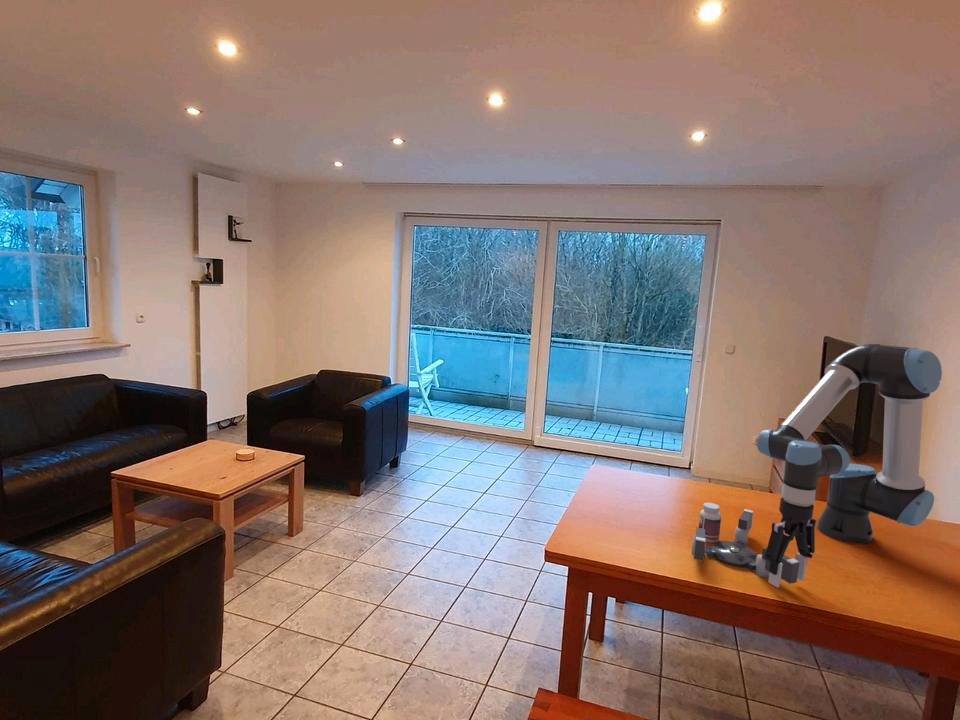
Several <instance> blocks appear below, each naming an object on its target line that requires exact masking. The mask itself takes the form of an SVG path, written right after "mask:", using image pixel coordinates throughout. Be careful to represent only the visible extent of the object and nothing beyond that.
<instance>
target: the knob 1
mask: <svg viewBox="0 0 960 720" xmlns="http://www.w3.org/2000/svg"><path fill="white" fill-rule="evenodd" d="M753 515H754V510H750V509H748V508H744V509H743V511H742V514H741V515H740V516H739V518H738V525H737V526H735V529H734V531H735V532H734V538H733V539H734V540H733V541H737V542H741V543H744V544H745V546H747V545H748V539H749V538H748V537H749V532H750V531H751V529H752V523H753ZM747 547H748V546H747Z"/></svg>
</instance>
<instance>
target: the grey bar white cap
mask: <svg viewBox="0 0 960 720" xmlns="http://www.w3.org/2000/svg"><path fill="white" fill-rule="evenodd" d="M766 550H767V546H766V547H762V551H761V553H760V554H756V556H757V557H756V562H757V563H756V570H755V571H754V572H755V575H757V576H758V577H760V578H764V579H769V574H770V571H769V569H770V561H769V560H767V559H766V558H765V553H766ZM780 563H782V564H783V565H782V572H781V580H782V581H785V582H786V583H788V584H792V585H793V584H796V583H797V582H798V578H797V576H798V569H799V561H797V560H795V557H794V558H792V557H789V556H787V555H786V554H784V555H783V558H782V560H781V562H780Z"/></svg>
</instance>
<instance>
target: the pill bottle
mask: <svg viewBox="0 0 960 720" xmlns="http://www.w3.org/2000/svg"><path fill="white" fill-rule="evenodd" d="M721 522H722V514H721V513H720V505H718V504H716V503H713V502H704V503H703V505H702V509H701V511H700V512H699V521H698V528H702V529H705V538H706V543H711V544H713V543H714V542H716V541H720V533H721V532H720V531H721V524H722V523H721Z"/></svg>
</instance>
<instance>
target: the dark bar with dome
mask: <svg viewBox="0 0 960 720" xmlns="http://www.w3.org/2000/svg"><path fill="white" fill-rule="evenodd" d="M706 544H707V542H706V538H705V529H702V528H699V527H696V528H695V534H694V535H693V537H692V543H691V554H692V555H693V559H694V560H698V561H704V557H705V555H706V554H705V547H706Z"/></svg>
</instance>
